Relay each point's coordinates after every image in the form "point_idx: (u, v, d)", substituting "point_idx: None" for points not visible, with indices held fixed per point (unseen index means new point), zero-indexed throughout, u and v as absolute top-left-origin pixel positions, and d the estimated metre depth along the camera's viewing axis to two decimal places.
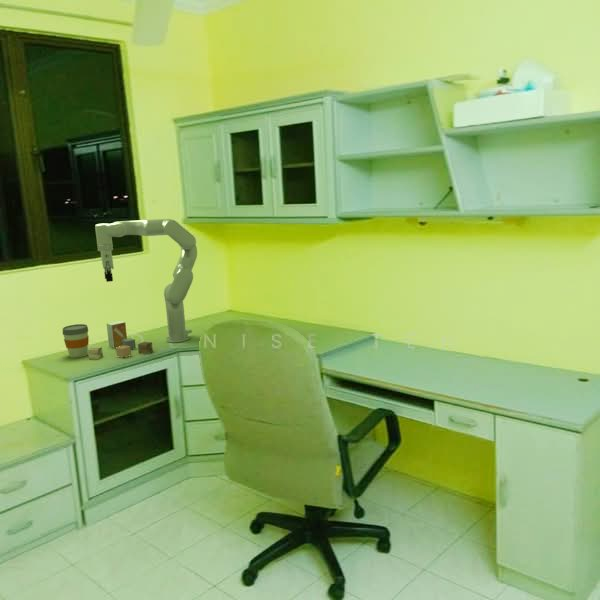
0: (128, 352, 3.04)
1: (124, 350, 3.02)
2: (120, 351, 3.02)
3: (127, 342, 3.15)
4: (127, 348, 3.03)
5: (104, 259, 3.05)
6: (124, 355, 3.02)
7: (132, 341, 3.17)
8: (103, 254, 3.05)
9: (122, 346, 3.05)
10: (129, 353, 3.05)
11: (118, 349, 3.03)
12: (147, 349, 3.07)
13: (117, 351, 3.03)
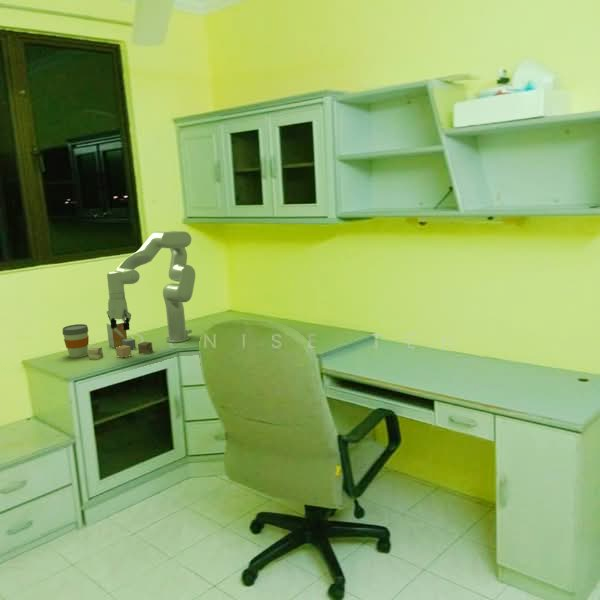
0: (128, 352, 3.04)
1: (124, 350, 3.02)
2: (120, 351, 3.02)
3: (127, 342, 3.15)
4: (127, 348, 3.03)
5: None
6: (124, 355, 3.02)
7: (132, 341, 3.17)
8: None
9: (122, 346, 3.05)
10: (129, 353, 3.05)
11: (118, 349, 3.03)
12: (147, 349, 3.07)
13: (117, 351, 3.03)
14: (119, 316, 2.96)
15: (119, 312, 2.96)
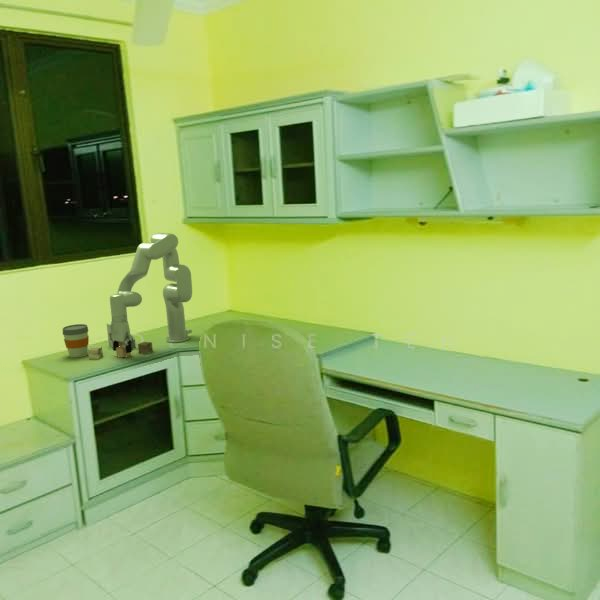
0: None
1: (124, 350, 3.02)
2: (120, 351, 3.02)
3: None
4: None
5: None
6: (124, 355, 3.02)
7: None
8: None
9: (122, 346, 3.05)
10: (129, 353, 3.05)
11: (118, 349, 3.03)
12: (147, 349, 3.07)
13: (117, 351, 3.03)
14: (121, 339, 2.98)
15: (121, 335, 2.98)
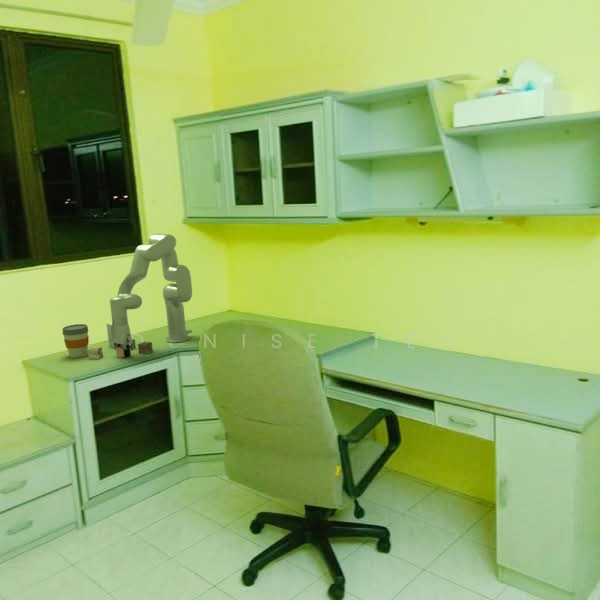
0: None
1: None
2: (120, 351, 3.02)
3: None
4: None
5: None
6: (124, 355, 3.02)
7: (132, 341, 3.17)
8: None
9: (122, 346, 3.05)
10: None
11: (118, 349, 3.02)
12: (147, 349, 3.07)
13: (117, 351, 3.03)
14: (122, 341, 2.99)
15: (122, 337, 2.98)
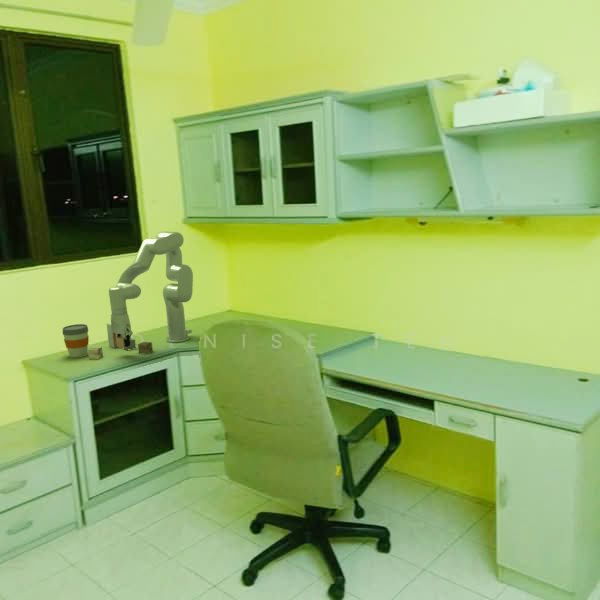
0: None
1: None
2: (120, 341, 3.01)
3: None
4: None
5: None
6: (124, 345, 3.02)
7: (132, 341, 3.17)
8: None
9: (122, 336, 3.05)
10: None
11: (118, 339, 3.02)
12: (147, 349, 3.07)
13: (117, 341, 3.03)
14: (122, 331, 2.98)
15: (122, 327, 2.98)
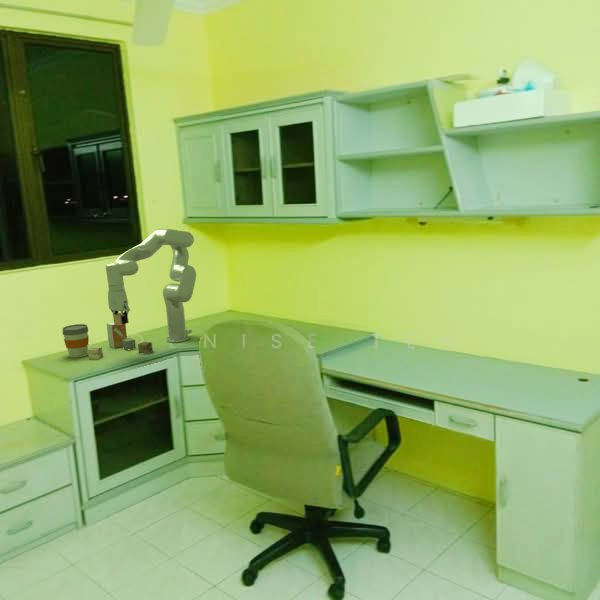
0: None
1: None
2: (117, 318, 2.99)
3: (127, 342, 3.15)
4: None
5: None
6: (121, 322, 2.99)
7: (132, 341, 3.17)
8: None
9: (119, 313, 3.02)
10: None
11: (115, 316, 2.99)
12: (147, 349, 3.07)
13: (114, 318, 3.00)
14: (119, 308, 2.96)
15: (119, 304, 2.95)
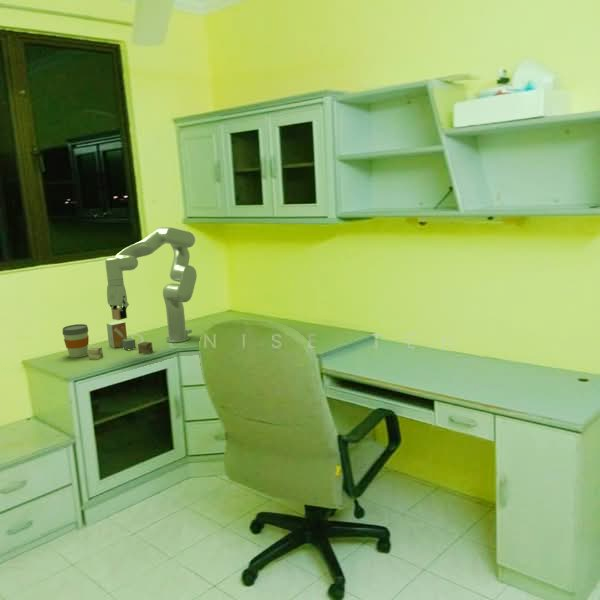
0: None
1: None
2: (115, 312, 2.98)
3: (127, 342, 3.15)
4: None
5: None
6: (120, 317, 2.98)
7: (132, 341, 3.17)
8: None
9: (118, 308, 3.01)
10: None
11: (114, 311, 2.99)
12: (147, 349, 3.07)
13: (113, 313, 2.99)
14: (118, 303, 2.95)
15: (118, 299, 2.95)
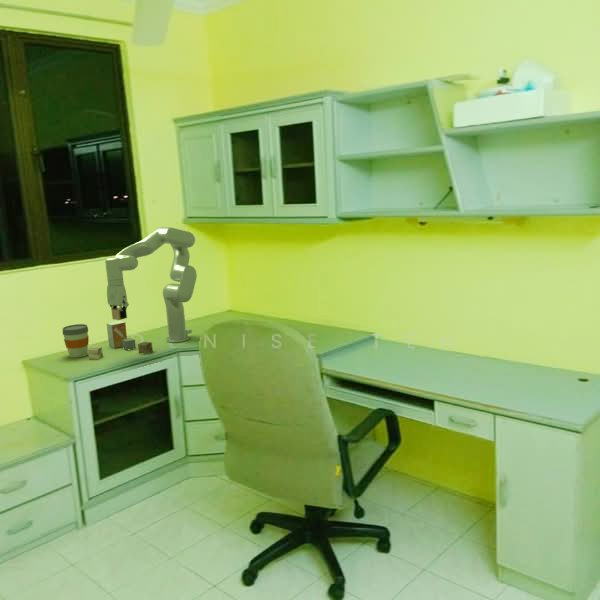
0: None
1: None
2: (115, 312, 2.98)
3: (127, 342, 3.15)
4: None
5: None
6: (120, 317, 2.98)
7: (132, 341, 3.17)
8: None
9: (118, 308, 3.01)
10: None
11: (114, 311, 2.99)
12: (147, 349, 3.07)
13: (113, 313, 2.99)
14: (118, 303, 2.95)
15: (118, 299, 2.95)
